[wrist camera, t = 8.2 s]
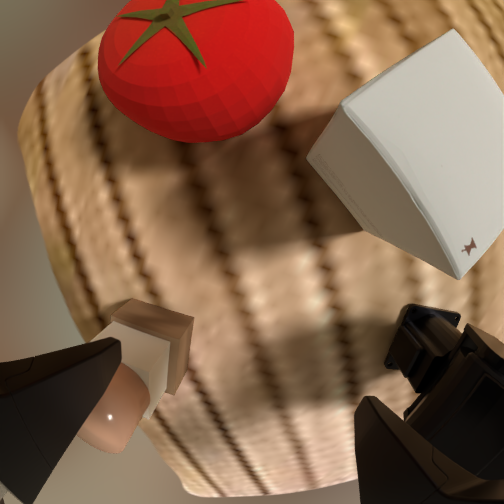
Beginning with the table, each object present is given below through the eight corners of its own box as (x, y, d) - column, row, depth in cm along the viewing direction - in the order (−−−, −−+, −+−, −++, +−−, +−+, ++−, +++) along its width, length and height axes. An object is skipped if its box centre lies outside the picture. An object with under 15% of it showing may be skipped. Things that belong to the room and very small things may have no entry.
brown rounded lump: (149, 372, 15) (118, 418, 11) (151, 420, 16) (128, 463, 12) (86, 346, 15) (47, 381, 11) (94, 396, 17) (65, 431, 12)
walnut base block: (194, 316, 23) (179, 339, 19) (187, 369, 24) (174, 395, 20) (133, 297, 23) (110, 315, 19) (131, 350, 25) (113, 371, 21)
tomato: (253, 174, 20) (226, 157, 9) (122, 123, 20) (33, 96, 9) (312, 52, 17) (332, -33, 7) (180, 17, 17) (131, -51, 7)
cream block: (170, 341, 19) (149, 372, 15) (166, 388, 20) (148, 419, 16) (113, 321, 19) (85, 345, 15) (115, 368, 20) (92, 394, 17)
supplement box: (426, 175, 18) (545, 175, 6) (363, 233, 20) (458, 290, 8) (370, 100, 17) (455, 23, 5) (301, 155, 19) (334, 103, 7)
